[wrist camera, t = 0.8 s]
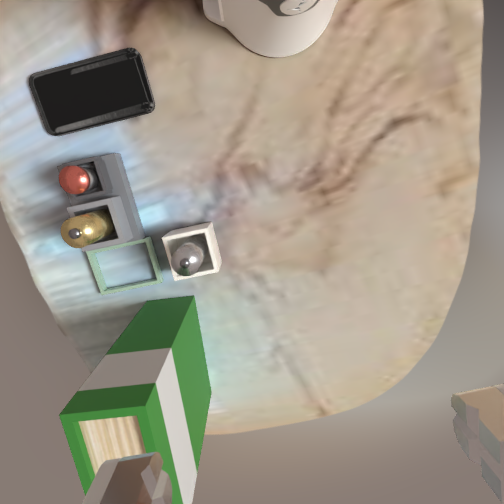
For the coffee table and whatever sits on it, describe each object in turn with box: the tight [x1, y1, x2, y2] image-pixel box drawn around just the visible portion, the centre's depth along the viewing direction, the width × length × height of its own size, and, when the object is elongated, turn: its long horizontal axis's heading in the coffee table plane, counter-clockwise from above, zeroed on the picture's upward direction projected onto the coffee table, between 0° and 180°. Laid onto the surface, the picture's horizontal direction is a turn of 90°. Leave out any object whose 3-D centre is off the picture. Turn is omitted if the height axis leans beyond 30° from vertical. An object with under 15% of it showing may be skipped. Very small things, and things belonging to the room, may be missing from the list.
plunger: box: [59, 166, 98, 194], centre depth 41 cm, size 3×3×3 cm
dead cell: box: [171, 235, 208, 276], centre depth 44 cm, size 4×4×9 cm
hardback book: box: [59, 296, 211, 504], centre depth 41 cm, size 18×7×24 cm, turn 7°
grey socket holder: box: [57, 153, 146, 252], centre depth 44 cm, size 12×8×5 cm, turn 12°
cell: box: [61, 209, 116, 248], centre depth 41 cm, size 4×4×9 cm
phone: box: [29, 48, 155, 136], centre depth 43 cm, size 8×1×15 cm
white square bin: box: [162, 222, 222, 281], centre depth 46 cm, size 6×6×5 cm
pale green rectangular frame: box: [86, 237, 163, 295], centre depth 49 cm, size 7×9×1 cm
